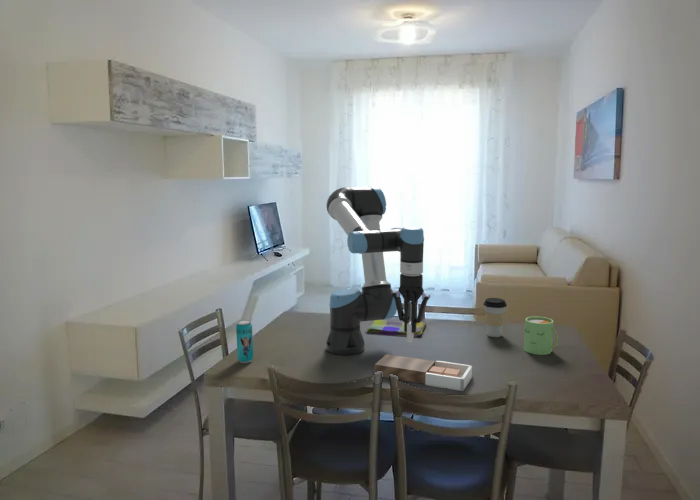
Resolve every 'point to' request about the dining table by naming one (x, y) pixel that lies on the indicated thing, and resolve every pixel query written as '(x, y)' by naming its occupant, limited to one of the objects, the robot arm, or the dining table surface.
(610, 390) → the dining table surface
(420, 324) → the dish towel
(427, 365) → the board
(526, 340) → the mug
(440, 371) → the salmon pink block
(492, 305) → the coffee cup
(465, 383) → the tray
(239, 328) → the beverage can
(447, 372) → the tile
